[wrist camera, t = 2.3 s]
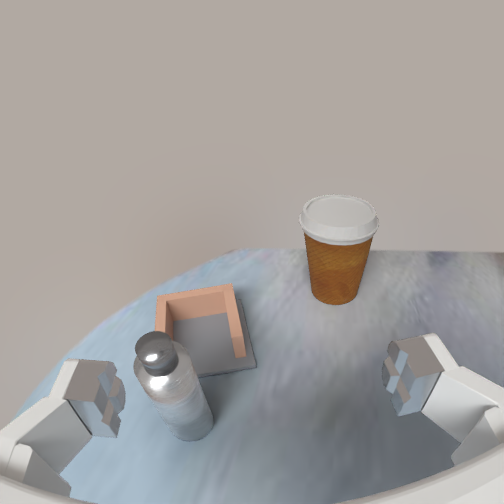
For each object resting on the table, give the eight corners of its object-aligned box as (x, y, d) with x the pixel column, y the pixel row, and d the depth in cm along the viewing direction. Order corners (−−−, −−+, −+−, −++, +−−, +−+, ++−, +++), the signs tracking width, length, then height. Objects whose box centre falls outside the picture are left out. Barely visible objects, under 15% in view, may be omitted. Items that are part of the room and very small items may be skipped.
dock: (241, 302, 43) (237, 278, 41) (256, 367, 34) (253, 344, 31) (159, 315, 42) (151, 292, 40) (157, 382, 33) (145, 360, 30)
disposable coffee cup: (301, 315, 40) (301, 231, 33) (298, 269, 48) (296, 193, 41) (375, 311, 39) (390, 228, 32) (361, 267, 47) (369, 192, 40)
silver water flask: (211, 400, 30) (182, 319, 24) (216, 438, 27) (184, 365, 20) (168, 405, 30) (127, 327, 23) (170, 443, 26) (121, 372, 20)
